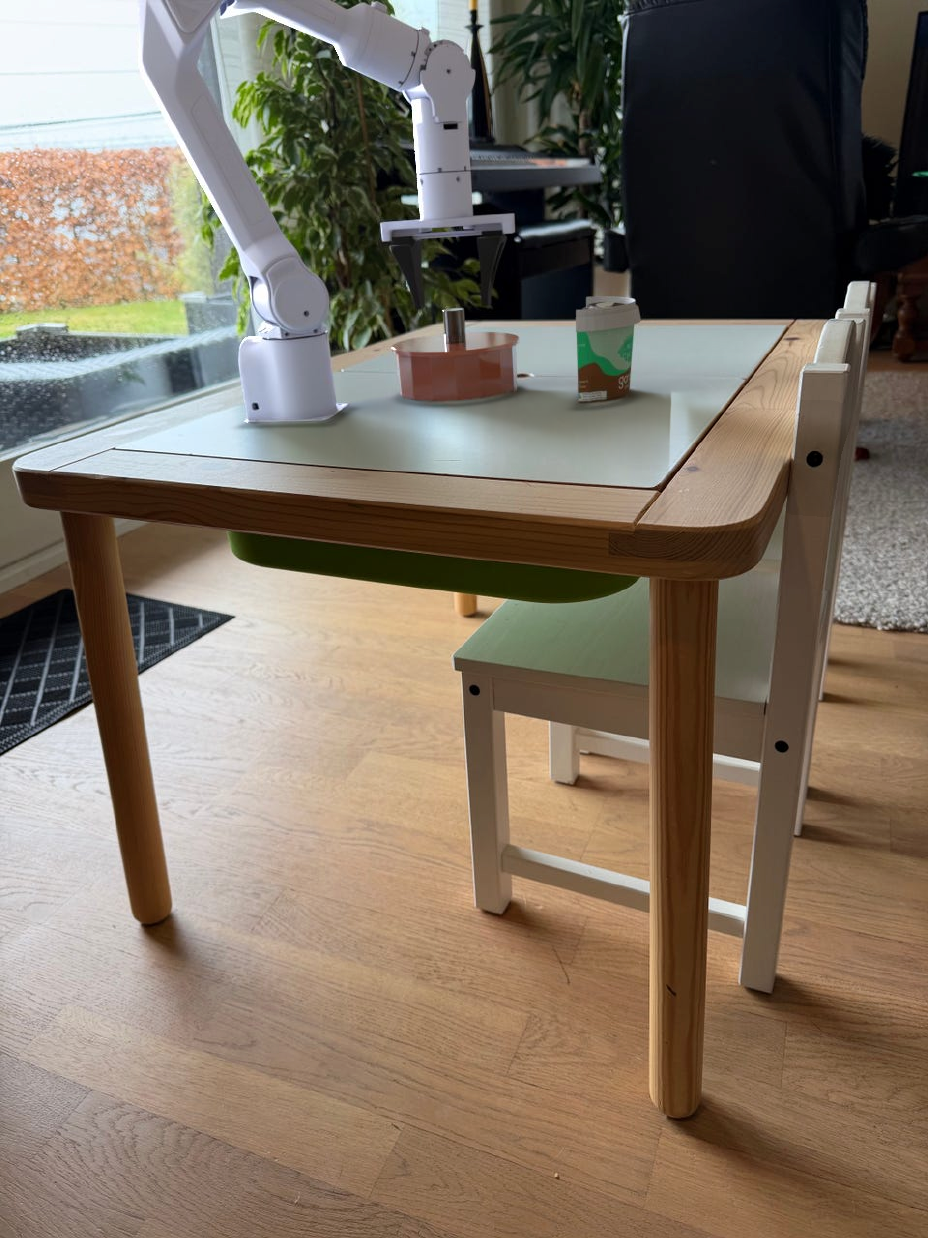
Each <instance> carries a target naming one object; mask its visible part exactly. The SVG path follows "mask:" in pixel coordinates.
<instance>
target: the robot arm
mask: <svg viewBox="0 0 928 1238" xmlns="http://www.w3.org/2000/svg"><path fill="white" fill-rule="evenodd" d="M137 5H138V68H139V70H140V71H139V72H140V73H141V76H142V79H143V80H144V82H145V84H146V86H147V87H148V89H149V91H150V93H151V95H152V97H153V98H154V100H155V103H156V104H157V106H158V107H159V110H160V111H161V113H162V115H163V117H164V119H165V122H166V123H167V125H168V126H169V128H170V130H171V132H172V133H173V136H174V138H175V139H176V141H177V143H178V144H179V146H180V148H181V150H182V152H183V154H184V156H185V157H186V159H187V161H188V163H189V165H190V167H191V169H192V170H193V172H194V174H195V176H196V178H197V180H198V181H199V183H200V185H201V187H202V188H203V191H204V193H205V194H206V196H207V198H208V199H209V201H210V203H211V205H212V207H213V209H214V210H215V213H216V214H217V217H218V218H219V220H220V222H221V224H222V226H223V227H224V229H225V231H226V233H227V234H228V236H229V238H230V241H231V242H232V244H233V246H234V249H236V251H237V254H238V258H239V262H240V266H241V269H242V272H243V273H244V275H245V277H246V279H247V281H248V284H249V292H250V293H249V294H250V296H249V297H250V302H251V306H252V309H253V310H254V312H255V313H256V315H257V316H258V317H259V318H260V319H261V320H262V323H261V325H260V327H259V329H258V330H257V331H258V336H257V335H255V336H248V337H244V339H243V340H242V341H241V343H240V345H239V348H238V357H237V360H238V363H237V364H238V371H239V378H240V384H241V390H242V397H243V402H244V409H245V414H246V415H245V416H246V419H245V420H244V423H264V422H270V423H271V422H307V421H308V422H309V421H311V422H312V421H327V420H329V419H331V418H332V417H334V416H335V415H337V414H338V413H340V412H341V411H342V410H344V409H345V408H346V407H348V406H349V405H350V404H349V403H337V397H336V388H335V381H334V380H335V379H334V373H333V364H332V357H331V356H332V355H331V348H330V339H329V331H328V326H327V325H326V324H324V321H325V319H326V318H327V315H328V312H329V309H330V295H329V291H328V288H327V286H326V285H325V283H324V281H323V280H322V279H321V277H319V276H318V274H316V273H314V272H313V271H312V270H310V268H308V267H307V266H306V264H305V263H304V261H303V259H302V258H301V255H300V254H299V253H298V250H297V249H296V248H295V246H294V245H293V244H292V243H291V241H290V240H289V239H288V238H287V236H285V234H284V233H283V232H282V229H281V228H280V225H279V224H278V222H277V219H276V218H275V216H274V213H273V212H272V210H271V208H270V206H269V204H268V203H267V200H266V199H265V197H264V194H263V193H262V191H261V189H260V186H259V185H258V183H257V181H256V179H255V177H254V175H253V173H252V171H251V169H250V168H249V165H248V164H247V161H246V160H245V158H244V155H243V154H242V152H241V149H240V148H239V146H238V144H237V142H236V140H235V138H234V136H233V133H232V131H231V130H230V128H229V125H227V123H226V121H225V119H224V117H223V115H222V112H221V110H220V109H219V107H218V105H217V103H216V101H215V98H214V97H213V95H212V93H211V91H210V89H209V88H208V85H207V84H206V81H205V79H204V78H203V76H202V74H201V71H200V70H199V67H198V63H199V59H200V55H201V53H202V48H203V45H204V41H205V37H206V34H207V28H208V26H209V24H210V23H211V21H212V20H213V18H214V16H215V15H216V14H217V12H218V11H219V17H220V19H226V18H230V17H235V16H239V15H240V16H241V15H245V14H249V13H258V14H261V15H263V16H264V17H267V18H270V19H272V20H275V21H276V22H279V23H281V24H284V25H285V26H288V27H290V28H293V29H295V30H298V31H300V32H302V33H304V34H305V33H306V34H307V35H309V36H312V37H314V38H316V39H319V40H320V41H323V42H326V43H328V44H331V45H332V46H334V48H335V50H336V52H337V54H338V56H339V60H340V61H341V63H342V65H343V66H345V67H347V68H349V69H351V70H354V71H356V72H357V73H360V74H362V75H363V76H366V77H368V78H370V79H372V80H375V81H376V82H378V83H381V84H383V85H385V86H387V87H388V88H391V89H393V90H395V91H397V92H399V93H400V92H402V94H403V97H404V98H405V99H406V101H407V102H408V103H409V105H411V110H412V123H413V126H412V127H413V128H412V129H413V139H414V151H415V152H414V154H415V165H416V178H417V179H416V180H417V181H416V182H417V190H418V191H417V192H418V204H419V205H418V206H419V214H420V215H419V216H420V219H409V220H407V219H406V220H395V221H383V222H380V223H379V225H380V234H381V242H391V244H390V245H389V250H390V252H391V253H390V254H391V255H392V256H393V258H394V260H395V261H396V263H397V265H398V267H399V268H400V271H401V272H402V275H403V276H404V279H405V282H406V285H407V286H408V290H409V292H410V295H411V298H412V303H413V307H414V310H422V309H424V308H425V307H426V298H425V289H424V281H423V280H424V279H423V268H422V267H423V263H422V262H423V261H422V258H423V257H422V255H423V252H422V250H423V239H436V238H437V239H438V238H439V239H440V238H453V237H469V236H479V237H476V245H477V253H478V260H479V271H480V301H481V302H480V303H481V307H489V306H490V305H492V297H493V288H494V283H495V277H496V273H497V269H498V265H499V262H500V259H501V256H502V253H503V251H504V248H505V245H506V243H507V239H508V237H507V236H506V235H508V234H514V233H516V223H515V222H516V221H515V220H516V219H515V213H499V214H498V213H497V214H481V215H474V208H473V207H474V206H473V190H472V189H473V188H472V173H471V157H470V153H471V152H470V137H469V123H468V107H467V106H468V105H467V100H468V97H469V95H470V94H471V92H472V91H473V88H474V85H475V81H476V70H475V69H474V68H472V65H471V61H470V59H469V57H468V54H465V53H464V51H465V50H464V49H463V48H462V47H461V46H460V44H458V43H456V42H455V41H453V40H450V39H437V40H435V41H432V38H431V36H430V34H431V31H430V30H429V29H427V28H425V27H424V26H421V27H418V28H415V27H413V26H411V25H409V24H407V23H405V22H403V21H401V20H399V19H397V18H395V17H393V16H391V15H390V14H387V11H388V6H387V5H386V4H383V3H382V2H379V1H378V0H376V1H374V2H372V3H371V4H368V3H366V2H360V3H357V4H356V5H354V6H351V7H350V8H345V7H343V6H341V5H340V4H338V3H336V2H335V1H332V0H137ZM452 227H453V228H454V227H463V230H456V231H439V232H433V229H437V228H439V229H440V228H452Z"/></svg>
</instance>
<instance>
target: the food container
mask: <svg viewBox="0 0 928 1238" xmlns="http://www.w3.org/2000/svg"><path fill="white" fill-rule="evenodd" d="M636 303H637V302H636V299H635V298H632V297H629V296H628V297H627V296H616V295H615V296H613V295H612V296H611V295H610V296H609V295H608V296H607V295H604V296H603V295H601V296H599V295H597V296H586V297H585V307H583V308H582V309H576V310H575V316H576V317H575V333H576V355H577V356H576V357H577V359H576V360H577V388H578V389H577V390H578V391H577V393H578V395H577V396H578V404H593V403H594V404H595V403H603V402H608V401H614V400H615V401H616V400H618V399H622V398H625V397H627V396H628V395H630V392H631V391H630V390H631V378H632V377H631V375H632V363H633V349H634V339H635V338H634V335H635V325H638V324H639V323H641V321H642V320H641V315H640V309H639V305H637V304H636Z"/></svg>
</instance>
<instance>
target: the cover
mask: <svg viewBox="0 0 928 1238" xmlns="http://www.w3.org/2000/svg"><path fill="white" fill-rule="evenodd" d="M442 321H443V322H442V324H443V333H440V334H439V333H437V334H430V335H423V336H418V337H413V338H407V339H404V340H401V341H398V342H396V343H394V344H392V345H391V351H392V353H393V354H395V355H396V354H399V355H404V356H413V357H447V356H462V355H472V354H480V353H487V352H493V351H498V350H503V349H507V348H510V347H513V346H515V345H516V346H517V345H519V344H520V336H518V335H516V334H514V333H510V332H509V333H508V332H500V331H468V332H467V331H466V323H465V322H466V321H465V309H464V308H463V307H455V308H446V309H443V310H442Z"/></svg>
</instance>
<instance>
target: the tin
mask: <svg viewBox="0 0 928 1238" xmlns="http://www.w3.org/2000/svg"><path fill="white" fill-rule="evenodd" d="M517 361H518V360H517V345H515V346H513V347H510V348H507V349H503V350H498V351H493V352H487V353H480V354H472V355H462V356H447V357H413V356H404V355H399V354H395V363H396V374H397V380H398V381H397V382H398V383H397V384H398V393H399V395H400V396H401V398H405V399H408V400H412V401H422V402H423V401H424V402H459V401H468V400H478V399H484V398H490V397H495V396H499V395H504V394H506V393H515V392H517V391H518V385H519V384H518V363H517Z"/></svg>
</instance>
